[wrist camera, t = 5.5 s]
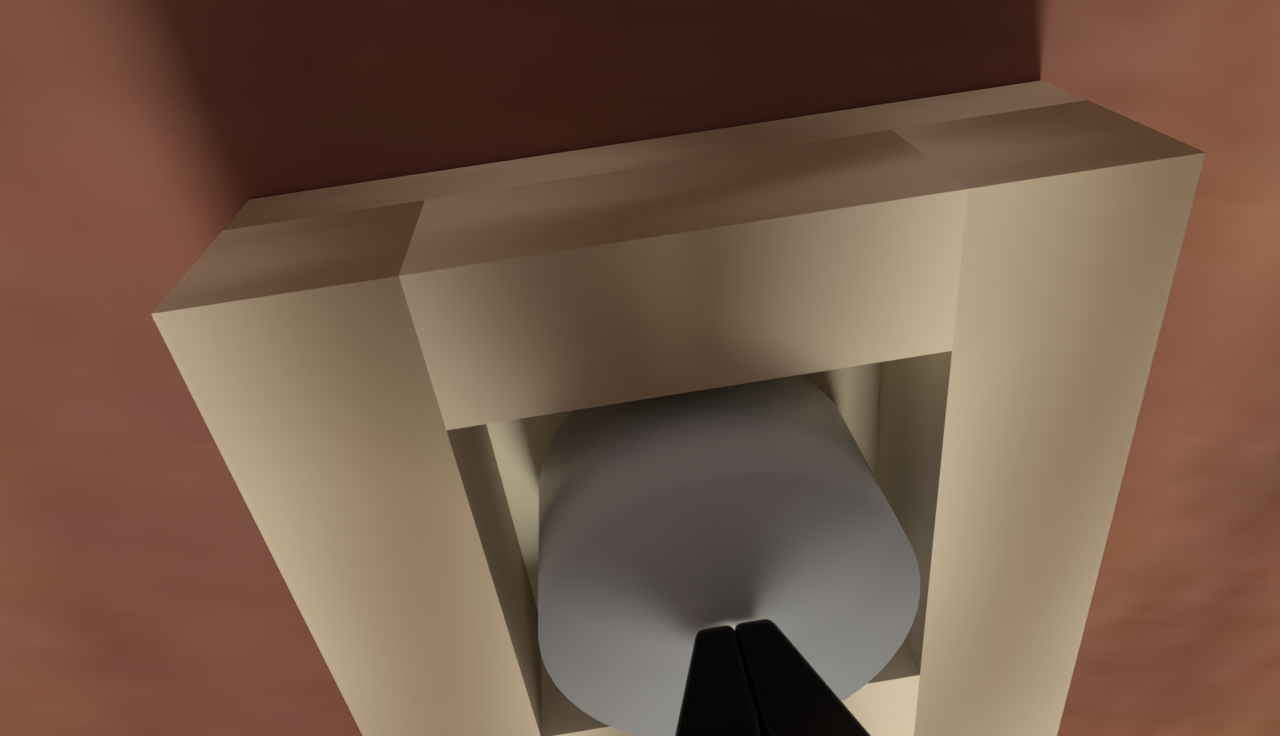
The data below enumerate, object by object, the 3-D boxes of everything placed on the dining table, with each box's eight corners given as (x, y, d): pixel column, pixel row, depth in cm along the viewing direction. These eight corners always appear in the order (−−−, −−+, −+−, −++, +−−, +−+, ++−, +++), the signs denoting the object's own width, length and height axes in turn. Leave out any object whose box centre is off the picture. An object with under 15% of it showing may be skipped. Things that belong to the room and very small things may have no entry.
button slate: (857, 327, 10) (934, 442, 8) (850, 574, 13) (909, 710, 11) (508, 381, 10) (500, 511, 8) (567, 619, 13) (572, 766, 11)
